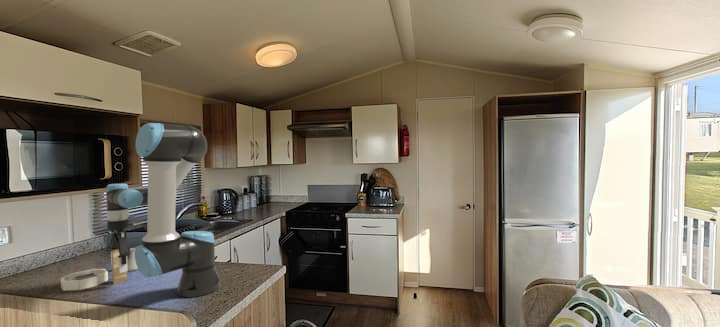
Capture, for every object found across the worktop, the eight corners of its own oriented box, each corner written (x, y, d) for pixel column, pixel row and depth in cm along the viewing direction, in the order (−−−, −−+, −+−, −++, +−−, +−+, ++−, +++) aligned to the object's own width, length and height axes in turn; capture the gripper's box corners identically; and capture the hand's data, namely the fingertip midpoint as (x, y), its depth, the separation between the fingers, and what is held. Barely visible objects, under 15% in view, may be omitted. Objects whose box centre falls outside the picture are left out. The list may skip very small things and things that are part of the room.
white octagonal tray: (110, 282, 138) (110, 273, 138) (64, 293, 127) (64, 283, 127) (102, 275, 147) (102, 266, 147) (59, 284, 136) (59, 275, 136)
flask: (127, 272, 150) (127, 251, 150) (122, 269, 154) (121, 249, 154) (145, 268, 156) (144, 247, 156) (139, 265, 160) (139, 245, 160)
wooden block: (126, 281, 139) (126, 248, 139) (114, 284, 135) (113, 251, 135) (125, 279, 140) (124, 248, 140) (112, 282, 137) (111, 250, 137)
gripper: (137, 221, 132) (138, 272, 133) (121, 215, 149) (122, 260, 149) (114, 224, 127) (115, 277, 127) (100, 217, 143) (101, 264, 143)
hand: (119, 268), depth 138 cm, fingers open, 13 cm apart
